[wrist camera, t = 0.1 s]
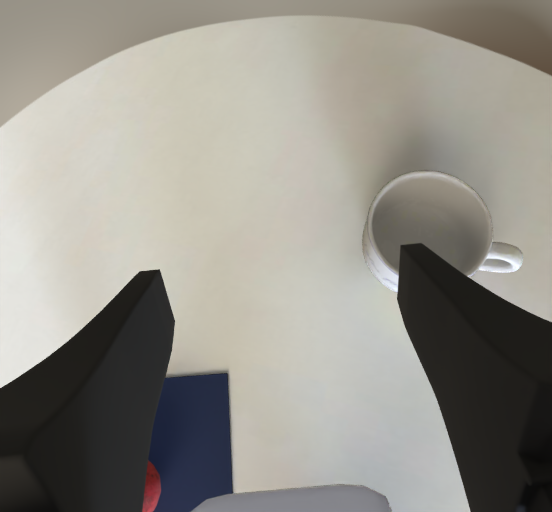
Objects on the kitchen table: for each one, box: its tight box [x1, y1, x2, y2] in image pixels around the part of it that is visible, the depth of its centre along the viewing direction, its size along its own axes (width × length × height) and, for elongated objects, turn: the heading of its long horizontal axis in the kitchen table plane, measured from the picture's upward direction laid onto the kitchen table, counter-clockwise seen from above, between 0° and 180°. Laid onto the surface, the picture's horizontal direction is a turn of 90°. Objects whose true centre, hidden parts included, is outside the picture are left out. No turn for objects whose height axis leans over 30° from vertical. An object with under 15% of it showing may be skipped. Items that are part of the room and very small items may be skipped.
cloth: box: [148, 373, 233, 512], centre depth 42 cm, size 20×15×1 cm
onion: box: [142, 460, 161, 512], centre depth 38 cm, size 6×6×8 cm
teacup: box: [362, 170, 523, 293], centre depth 43 cm, size 14×11×8 cm
